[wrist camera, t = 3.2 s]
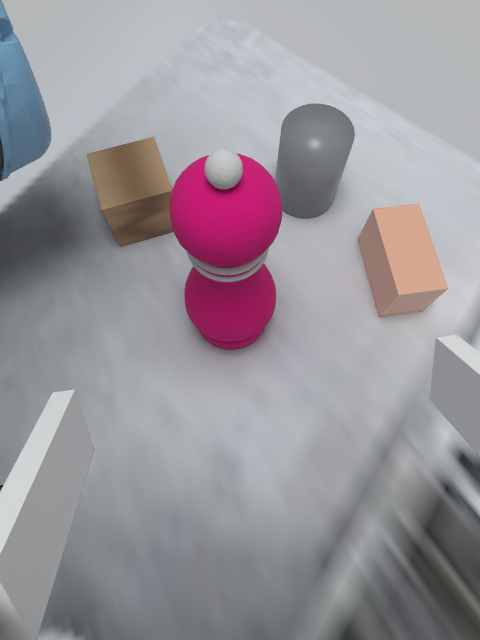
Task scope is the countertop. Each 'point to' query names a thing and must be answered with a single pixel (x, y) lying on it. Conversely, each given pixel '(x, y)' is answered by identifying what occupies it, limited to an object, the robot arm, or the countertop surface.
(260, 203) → the pepper mill
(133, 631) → the countertop surface
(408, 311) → the terracotta brick
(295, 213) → the charcoal canister
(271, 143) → the countertop surface
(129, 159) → the walnut block
